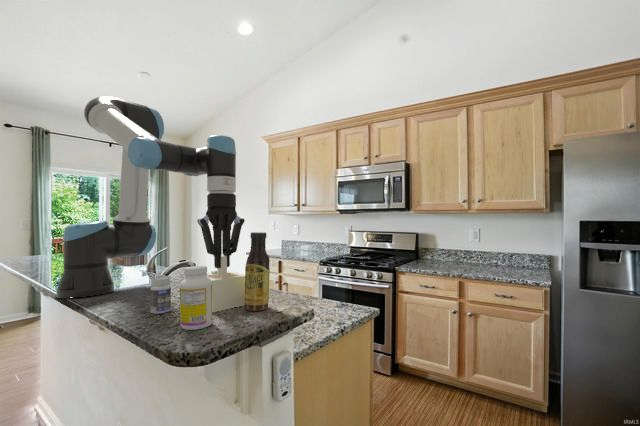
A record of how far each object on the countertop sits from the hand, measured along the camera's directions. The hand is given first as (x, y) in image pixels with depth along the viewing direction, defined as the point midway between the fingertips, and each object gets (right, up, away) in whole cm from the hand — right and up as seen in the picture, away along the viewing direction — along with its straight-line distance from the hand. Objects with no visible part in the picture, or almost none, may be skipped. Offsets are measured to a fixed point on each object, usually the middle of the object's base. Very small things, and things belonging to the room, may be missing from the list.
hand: (222, 279), depth 88 cm
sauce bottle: (+10, -7, -4) cm, 13 cm away
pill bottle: (-14, -7, -5) cm, 17 cm away
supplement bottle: (0, -7, -17) cm, 18 cm away
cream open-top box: (0, -7, 0) cm, 7 cm away
